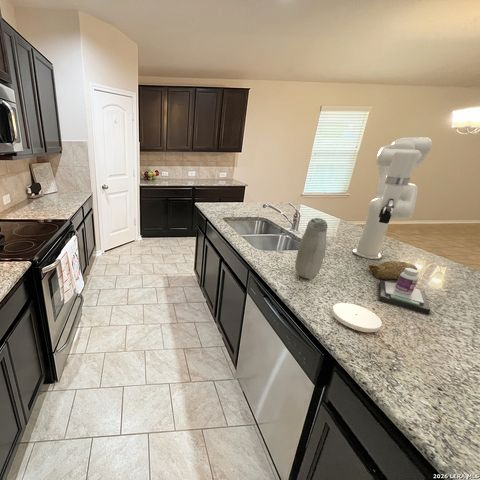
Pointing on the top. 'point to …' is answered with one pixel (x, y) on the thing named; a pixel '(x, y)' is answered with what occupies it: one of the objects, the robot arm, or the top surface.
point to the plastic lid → (356, 317)
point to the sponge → (390, 269)
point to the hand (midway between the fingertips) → (383, 220)
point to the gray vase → (312, 249)
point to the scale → (403, 298)
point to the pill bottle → (407, 281)
